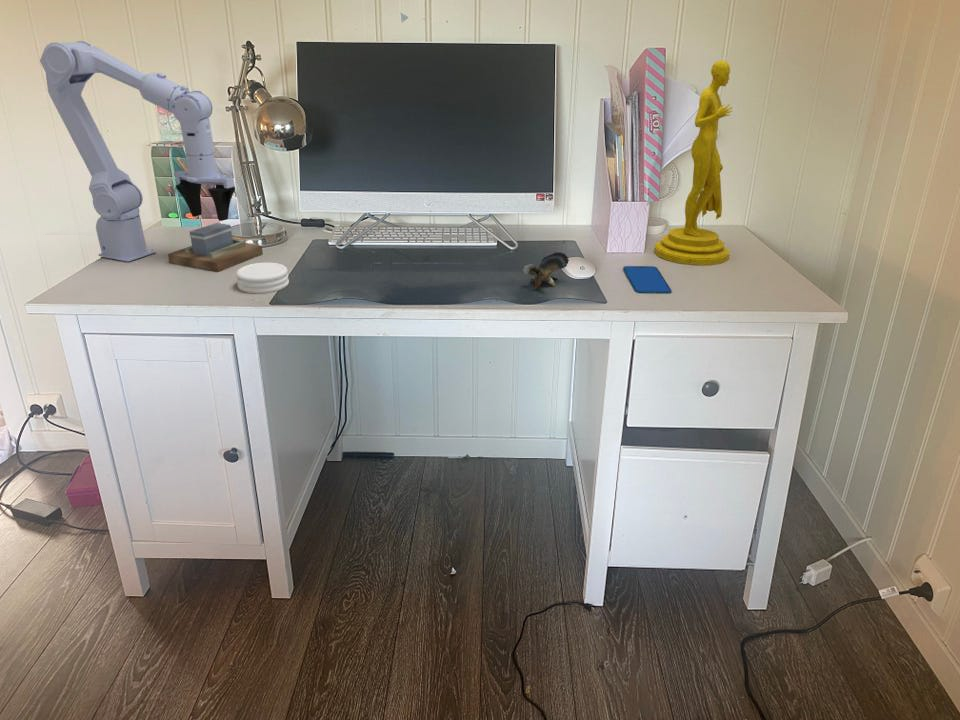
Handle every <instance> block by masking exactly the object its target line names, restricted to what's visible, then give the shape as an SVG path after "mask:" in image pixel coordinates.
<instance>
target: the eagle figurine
mask: <svg viewBox="0 0 960 720" xmlns="http://www.w3.org/2000/svg"><path fill="white" fill-rule="evenodd" d="M569 261H570V260H569V257H568V256H567V254H566V253H563V252H559V251H557V252H553V253H551V254H549V255H546V256H545V257H543V258H542V259H541V261H540V263H539V265H538V267H537V266H536V265H535V264H534V263H530V264H528V265H525V266H524V267H523V268H522V271H523V273H524V274H525V275H527V276H528V275H529V276H534V278H529V280H530V281H533V282H534V290H535V289H536V290H537V289H538V288H540V286H541V284H542V282H547V283H548V284H550V285H552V286H553V285H555V286H556V283H555V281H554V280H553V279H556V280H558V279H559V278H558V277H555V276H554V275H553V274H552V272H556V271H559V270H561V269H564V268H566V267H567V266H568V264H569Z"/></svg>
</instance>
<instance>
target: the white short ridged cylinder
mask: <svg viewBox="0 0 960 720" xmlns="http://www.w3.org/2000/svg"><path fill="white" fill-rule="evenodd" d="M288 272H289V270H288V268H287V266H285V265H284V264H281V263H278V262H277V263H276V262H256V263H255V262H254V263H251V264H246V265H245V266H242V267H240V268H238V269H237V270H236V272H235V276H236V282H237V288H238V289H239V290H240V291H242V292H244V293H248V294H266V293H267V294H268V293H274V292H278V291H281V290H283V289H285V288H286V287H287V286H289V282H290V280H289V274H288Z"/></svg>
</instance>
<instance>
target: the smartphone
mask: <svg viewBox="0 0 960 720" xmlns="http://www.w3.org/2000/svg"><path fill="white" fill-rule="evenodd" d="M622 271H623V273H624V275H625V277H626V278H627V280H628V282H629V284H630V285H631V287H632V289H633V291H634V292H635V293H636V294H659V295H660V294H666V295H667V294H672V289H671V287H670V286H669V284H668V283H667V281H666V280H665V278H664V276H663V275H662V273H661V272H660V270H659V269H658V267H656V266H653V265H651V266H650V265H649V266H648V265H647V266H646V265H645V266H644V265H641V266H640V265H626V266H623V268H622Z"/></svg>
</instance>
